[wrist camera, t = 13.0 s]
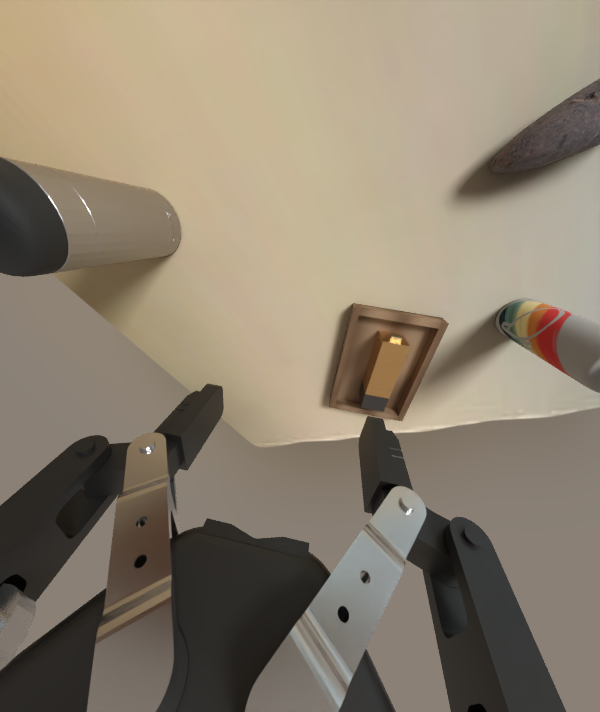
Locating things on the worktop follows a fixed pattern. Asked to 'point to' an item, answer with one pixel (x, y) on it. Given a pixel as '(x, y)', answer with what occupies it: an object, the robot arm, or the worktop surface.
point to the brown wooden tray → (358, 348)
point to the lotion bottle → (555, 338)
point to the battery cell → (383, 370)
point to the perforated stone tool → (555, 134)
